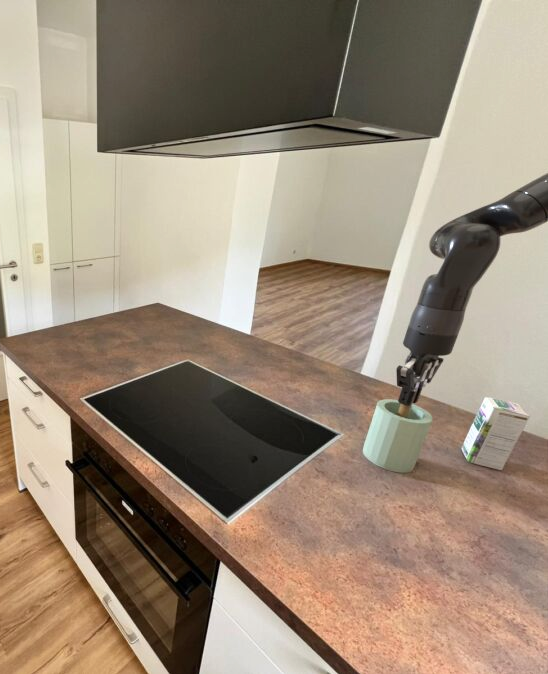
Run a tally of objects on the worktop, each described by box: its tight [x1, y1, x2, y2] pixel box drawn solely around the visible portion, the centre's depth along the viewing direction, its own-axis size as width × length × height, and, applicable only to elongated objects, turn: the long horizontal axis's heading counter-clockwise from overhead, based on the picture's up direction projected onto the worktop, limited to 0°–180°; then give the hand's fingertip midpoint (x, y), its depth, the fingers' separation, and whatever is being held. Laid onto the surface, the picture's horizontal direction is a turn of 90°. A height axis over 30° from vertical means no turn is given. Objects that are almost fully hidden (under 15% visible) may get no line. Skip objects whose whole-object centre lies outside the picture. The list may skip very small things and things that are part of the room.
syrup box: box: [461, 397, 531, 471], centre depth 80 cm, size 6×6×14 cm
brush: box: [397, 383, 420, 418], centre depth 79 cm, size 3×3×15 cm
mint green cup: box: [362, 398, 434, 474], centre depth 81 cm, size 9×9×13 cm
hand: (407, 402), depth 78 cm, fingers closed on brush, 2 cm apart
